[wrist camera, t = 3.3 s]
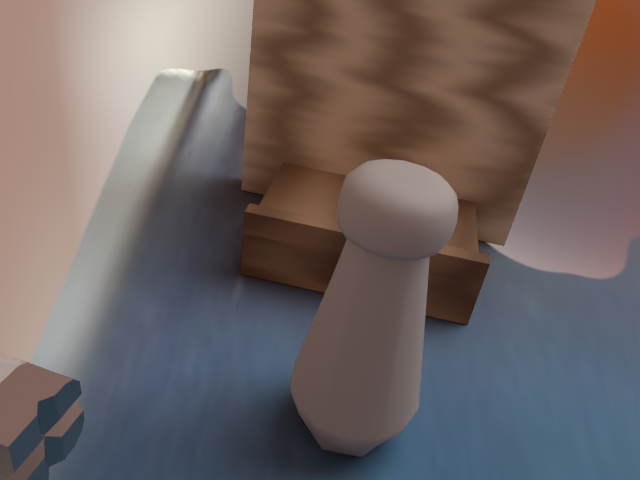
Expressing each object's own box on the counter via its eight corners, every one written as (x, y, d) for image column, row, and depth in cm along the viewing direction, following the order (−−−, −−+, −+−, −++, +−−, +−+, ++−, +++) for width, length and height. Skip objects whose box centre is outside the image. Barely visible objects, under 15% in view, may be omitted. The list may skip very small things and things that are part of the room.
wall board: (501, 231, 44) (609, -60, 33) (504, 245, 42) (617, -57, 31) (248, 178, 46) (270, -117, 35) (241, 189, 44) (261, -116, 33)
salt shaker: (431, 429, 27) (520, 191, 20) (349, 500, 24) (421, 242, 17) (344, 357, 31) (394, 130, 24) (260, 410, 27) (288, 160, 20)
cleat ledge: (463, 237, 43) (480, 183, 40) (467, 324, 34) (489, 263, 32) (279, 198, 44) (285, 143, 41) (240, 273, 35) (244, 211, 33)
